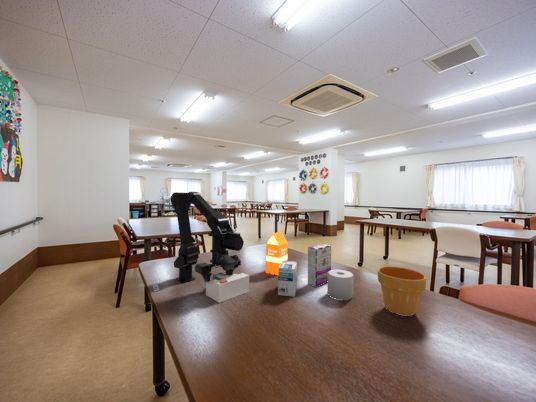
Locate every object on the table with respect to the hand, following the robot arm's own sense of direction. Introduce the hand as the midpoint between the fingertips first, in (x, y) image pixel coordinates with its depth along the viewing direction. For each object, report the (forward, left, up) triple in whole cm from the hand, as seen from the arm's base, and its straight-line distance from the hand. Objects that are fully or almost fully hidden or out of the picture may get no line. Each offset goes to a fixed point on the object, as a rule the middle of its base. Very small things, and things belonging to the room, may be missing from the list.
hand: (218, 285), depth 96 cm
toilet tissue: (+37, +32, -2) cm, 49 cm away
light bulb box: (+21, +19, -2) cm, 28 cm away
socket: (+7, 0, -1) cm, 7 cm away
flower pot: (+58, +34, -2) cm, 67 cm away
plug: (+3, 0, -1) cm, 3 cm away
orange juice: (+2, +33, -2) cm, 33 cm away
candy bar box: (+25, +36, -2) cm, 44 cm away
